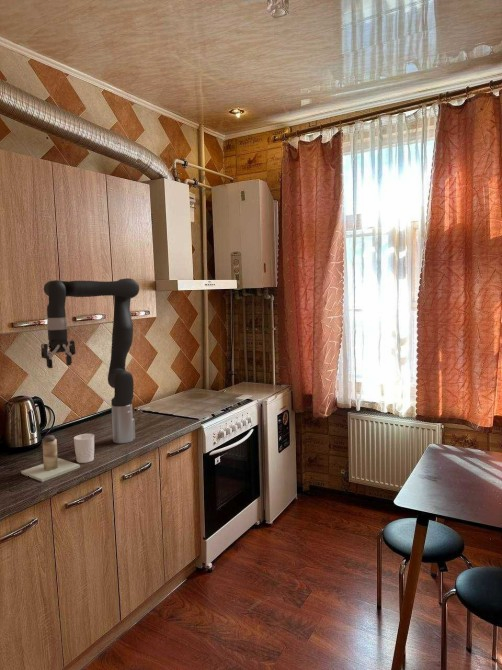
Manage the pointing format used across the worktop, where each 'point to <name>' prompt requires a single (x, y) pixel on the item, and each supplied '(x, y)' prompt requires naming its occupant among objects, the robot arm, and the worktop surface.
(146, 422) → the worktop surface
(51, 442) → the pepper mill
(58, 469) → the board
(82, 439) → the white cup
